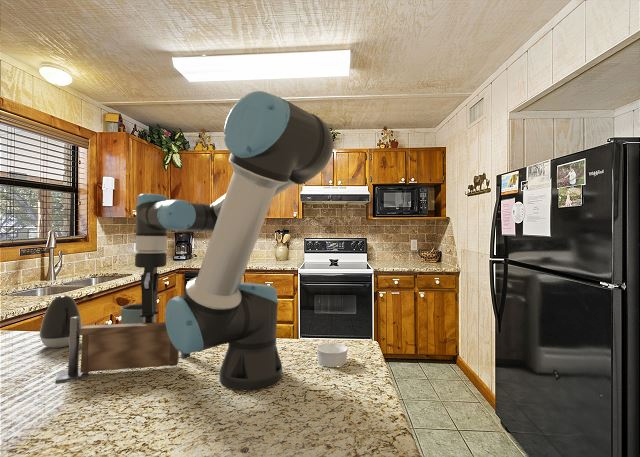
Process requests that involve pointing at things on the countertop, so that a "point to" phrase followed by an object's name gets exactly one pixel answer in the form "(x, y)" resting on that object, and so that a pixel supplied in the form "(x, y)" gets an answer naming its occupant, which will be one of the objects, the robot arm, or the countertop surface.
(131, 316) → the teal cylindrical container
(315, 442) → the countertop surface
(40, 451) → the countertop surface
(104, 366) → the gate
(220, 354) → the countertop surface
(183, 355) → the post
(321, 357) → the ramekin
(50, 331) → the dark grey egg shape
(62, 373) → the hinge post
